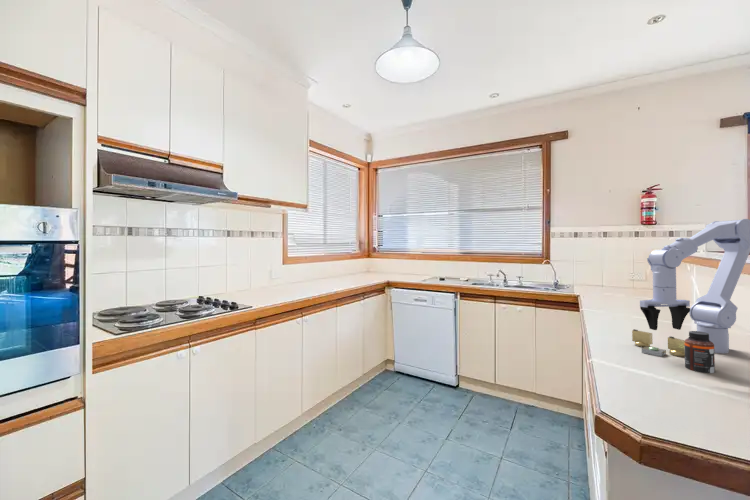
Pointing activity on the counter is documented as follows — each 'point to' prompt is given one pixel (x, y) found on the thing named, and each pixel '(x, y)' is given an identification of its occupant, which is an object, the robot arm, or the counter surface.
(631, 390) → the counter surface
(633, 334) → the knob
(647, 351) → the instrument base
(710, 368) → the supplement bottle
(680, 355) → the knob
